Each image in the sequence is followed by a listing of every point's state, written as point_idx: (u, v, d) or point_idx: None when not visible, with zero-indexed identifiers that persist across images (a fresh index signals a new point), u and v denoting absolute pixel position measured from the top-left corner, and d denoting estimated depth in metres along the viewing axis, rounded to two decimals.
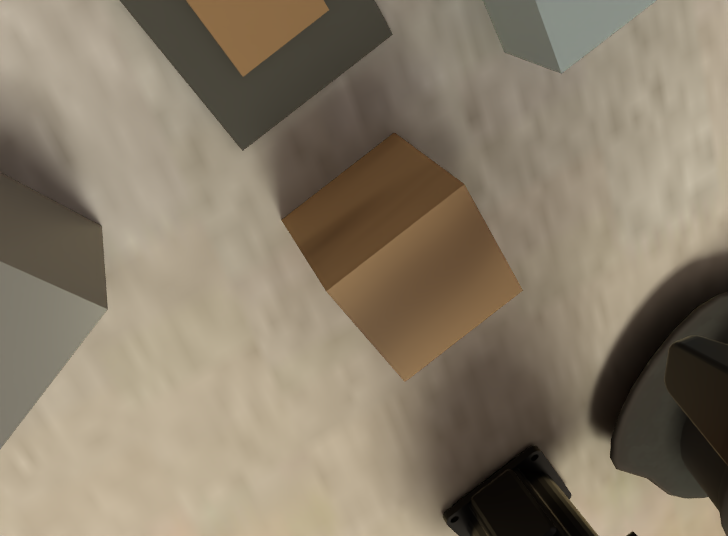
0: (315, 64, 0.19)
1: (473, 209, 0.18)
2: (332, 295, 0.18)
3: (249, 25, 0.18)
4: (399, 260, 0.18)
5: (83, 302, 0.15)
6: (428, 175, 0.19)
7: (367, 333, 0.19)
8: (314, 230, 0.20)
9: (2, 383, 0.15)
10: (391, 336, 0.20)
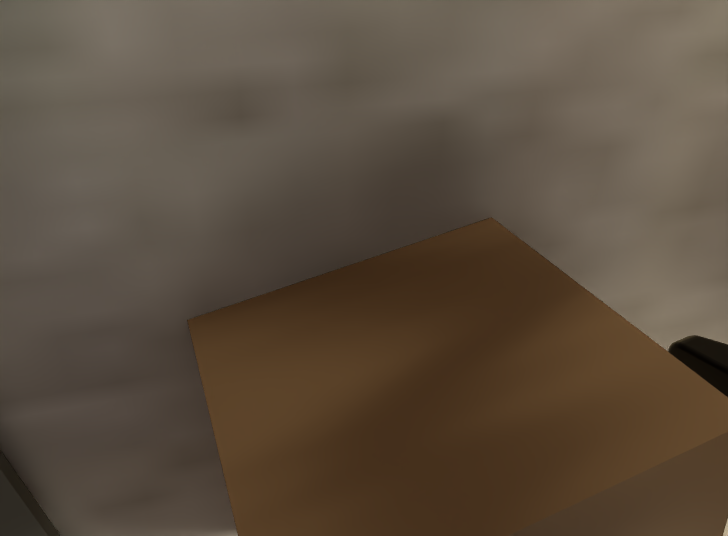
0: None
1: None
2: None
3: None
4: None
5: None
6: None
7: None
8: None
9: None
10: None
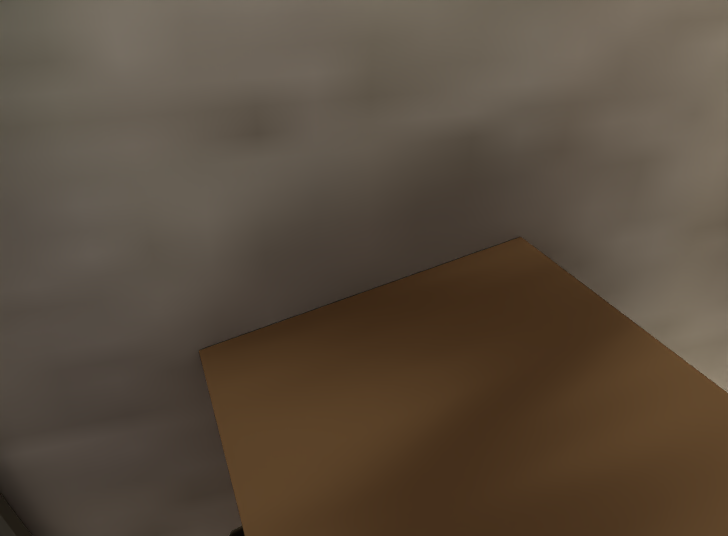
0: None
1: None
2: None
3: None
4: None
5: None
6: None
7: None
8: None
9: None
10: None
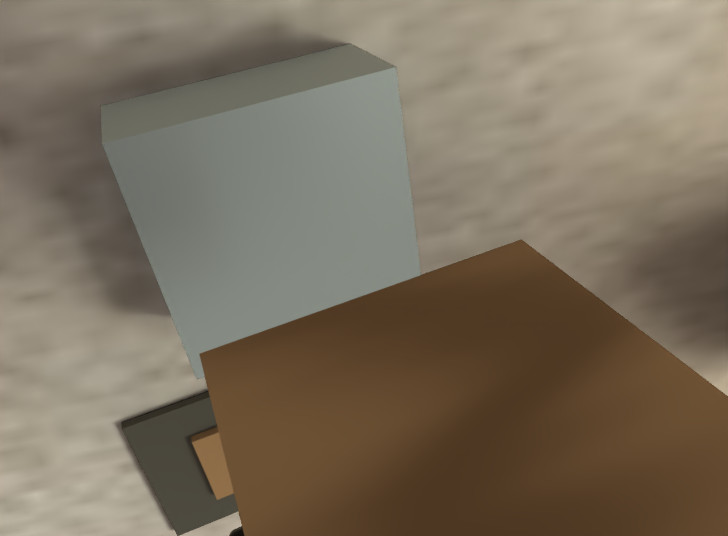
0: None
1: None
2: None
3: None
4: None
5: None
6: None
7: None
8: None
9: None
10: None
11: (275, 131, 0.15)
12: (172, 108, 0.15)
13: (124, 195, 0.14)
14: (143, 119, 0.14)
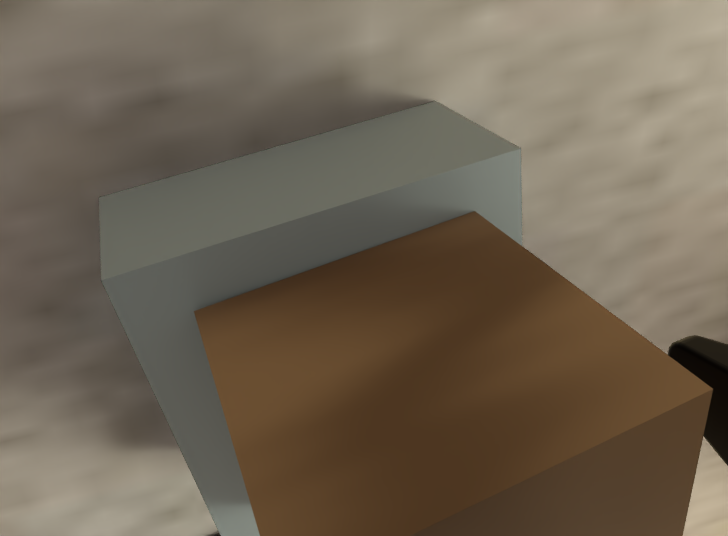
0: None
1: None
2: None
3: None
4: None
5: None
6: None
7: None
8: None
9: None
10: None
11: (351, 244, 0.10)
12: (201, 209, 0.10)
13: (134, 345, 0.10)
14: (160, 229, 0.10)
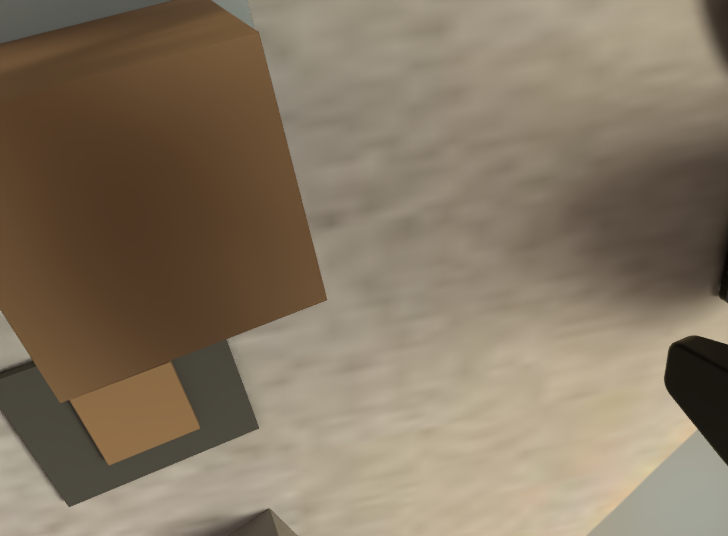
0: (213, 369, 0.21)
1: None
2: (74, 395, 0.11)
3: (161, 420, 0.21)
4: (47, 285, 0.10)
5: None
6: None
7: (185, 349, 0.11)
8: None
9: None
10: (216, 312, 0.11)
11: (89, 20, 0.13)
12: None
13: None
14: None
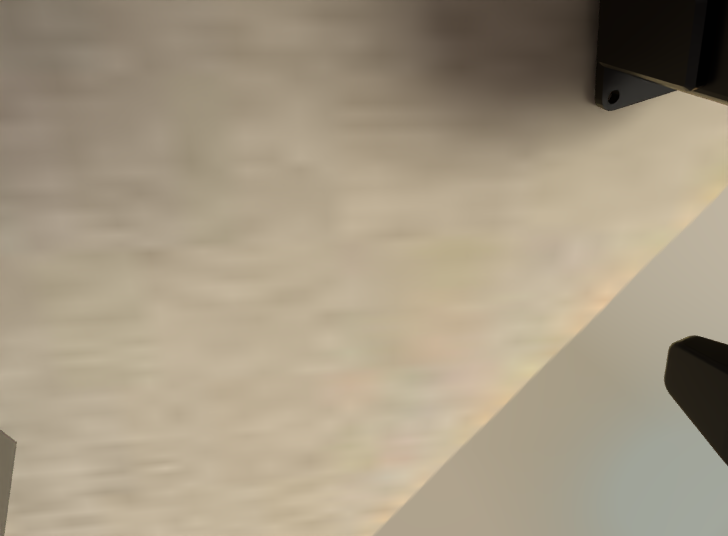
0: None
1: None
2: None
3: None
4: None
5: None
6: None
7: None
8: None
9: None
10: None
11: None
12: None
13: None
14: None
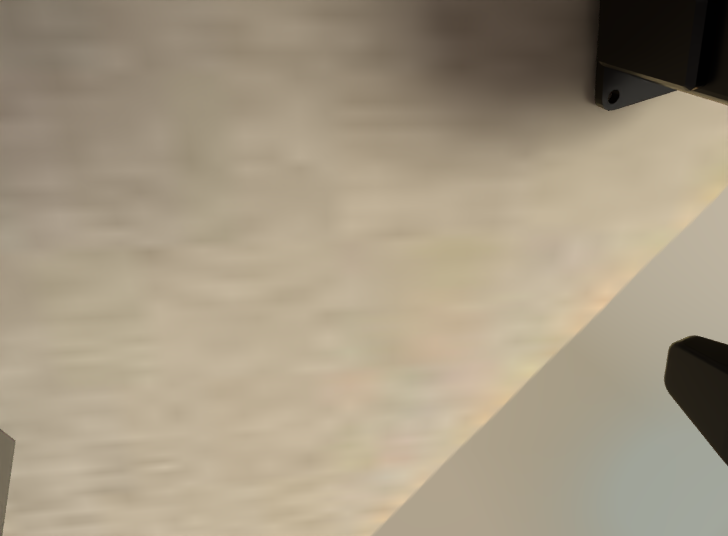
0: None
1: None
2: None
3: None
4: None
5: None
6: None
7: None
8: None
9: None
10: None
11: None
12: None
13: None
14: None
